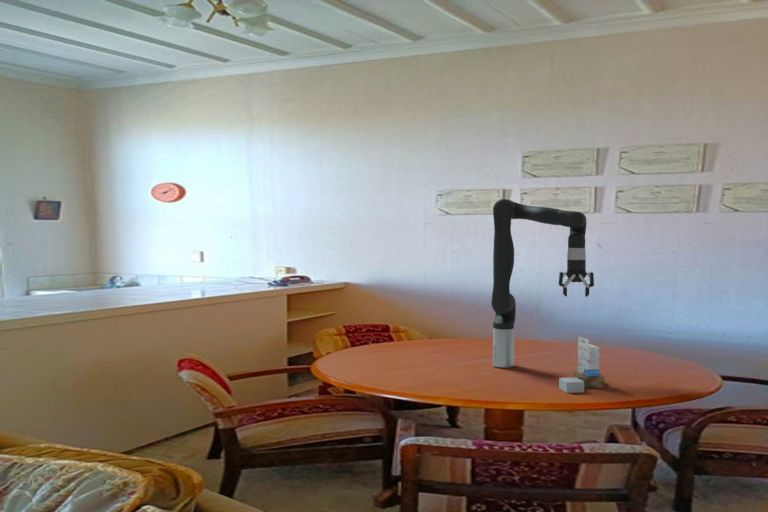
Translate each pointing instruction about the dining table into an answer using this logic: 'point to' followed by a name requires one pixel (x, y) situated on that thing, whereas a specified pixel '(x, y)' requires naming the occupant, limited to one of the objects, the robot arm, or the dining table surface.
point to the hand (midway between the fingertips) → (576, 296)
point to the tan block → (590, 380)
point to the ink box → (588, 358)
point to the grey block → (571, 385)
